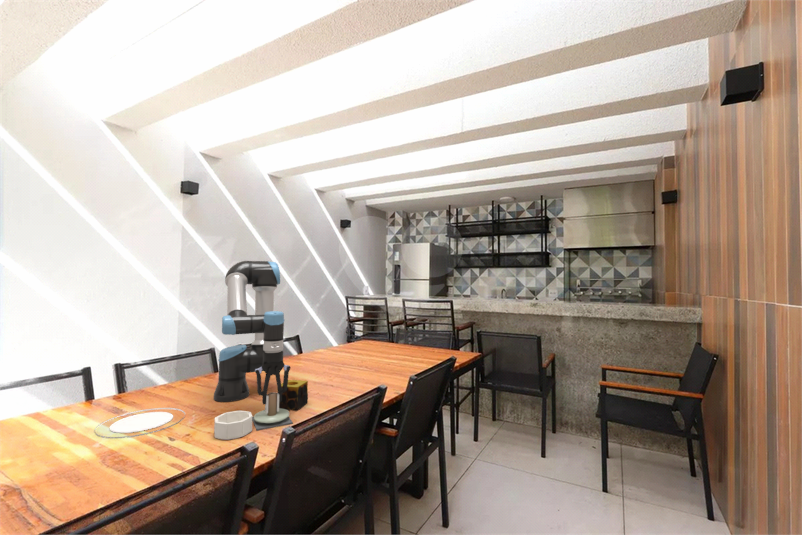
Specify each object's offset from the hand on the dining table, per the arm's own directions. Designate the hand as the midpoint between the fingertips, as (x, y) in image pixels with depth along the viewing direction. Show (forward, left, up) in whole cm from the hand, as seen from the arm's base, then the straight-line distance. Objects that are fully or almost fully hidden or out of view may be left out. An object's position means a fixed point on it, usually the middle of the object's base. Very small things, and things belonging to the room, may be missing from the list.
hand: (271, 411), depth 138 cm
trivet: (0, 0, -4) cm, 4 cm away
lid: (0, 0, -2) cm, 2 cm away
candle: (-13, +11, -4) cm, 18 cm away
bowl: (+4, -14, -4) cm, 15 cm away
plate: (-23, -43, -4) cm, 49 cm away
